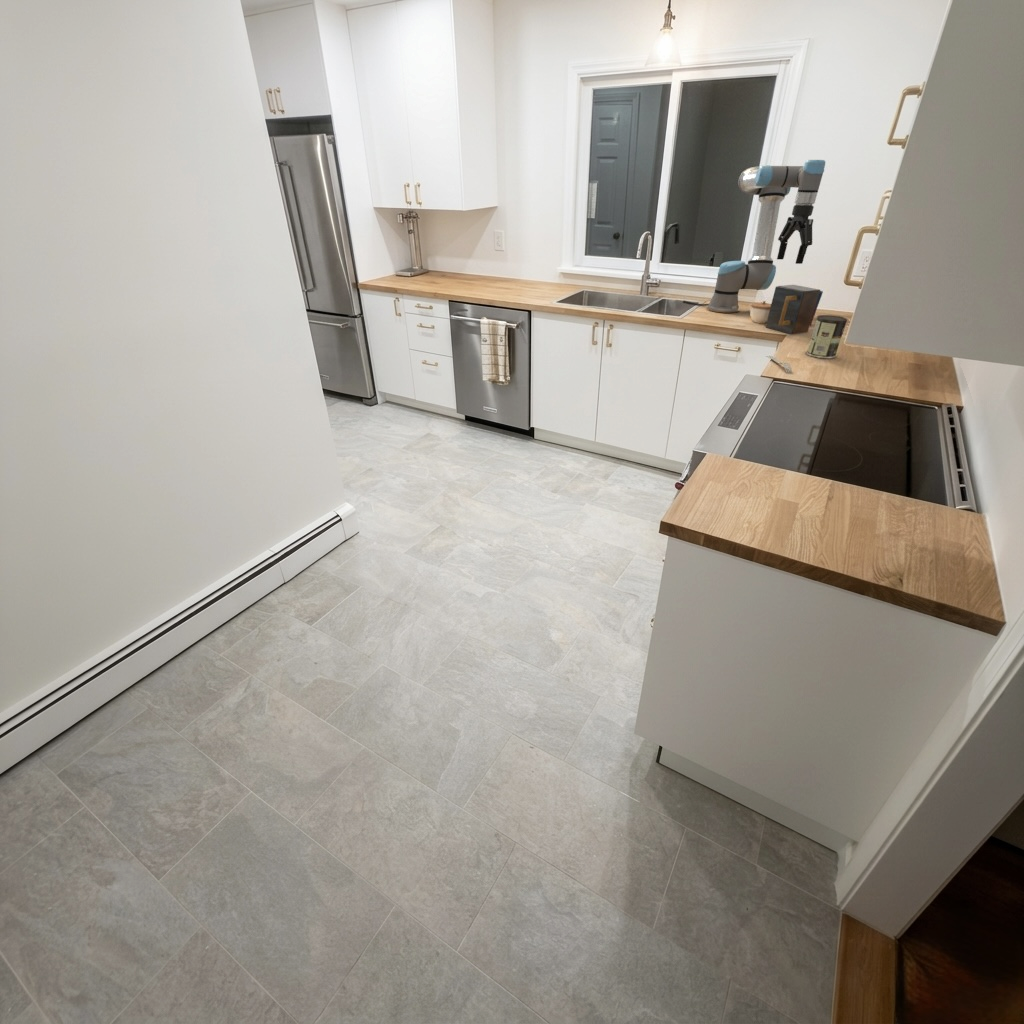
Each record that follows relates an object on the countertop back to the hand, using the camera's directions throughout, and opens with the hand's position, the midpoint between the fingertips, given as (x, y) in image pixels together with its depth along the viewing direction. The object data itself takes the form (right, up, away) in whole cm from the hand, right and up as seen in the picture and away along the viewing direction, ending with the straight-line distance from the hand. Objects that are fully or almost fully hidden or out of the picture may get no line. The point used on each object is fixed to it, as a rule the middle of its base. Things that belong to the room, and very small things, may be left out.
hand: (789, 261), depth 231 cm
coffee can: (+2, -47, -20) cm, 51 cm away
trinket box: (0, -16, +28) cm, 32 cm away
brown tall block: (+20, -19, +24) cm, 37 cm away
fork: (-21, -54, -32) cm, 66 cm away
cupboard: (+7, -24, +15) cm, 29 cm away
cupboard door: (-1, -26, +11) cm, 29 cm away
